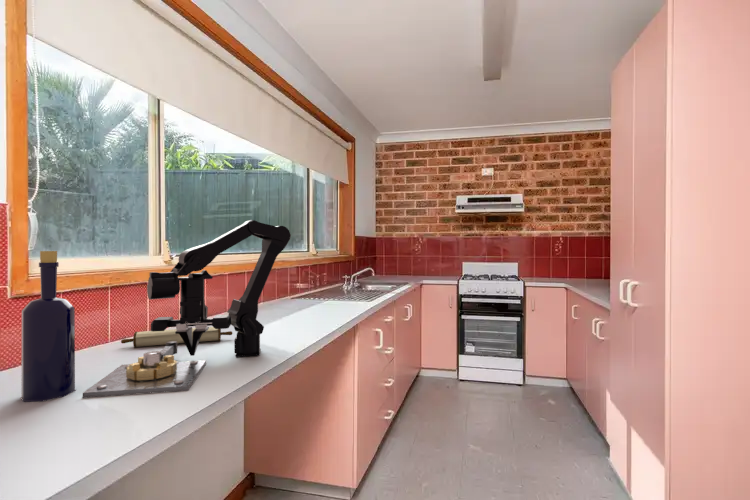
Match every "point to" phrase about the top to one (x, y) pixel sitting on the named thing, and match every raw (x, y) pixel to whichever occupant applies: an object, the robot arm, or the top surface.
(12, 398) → the top surface
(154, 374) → the lever handle
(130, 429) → the top surface
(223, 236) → the robot arm
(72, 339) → the bottle
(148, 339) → the rolling pin
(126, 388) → the flange plate
